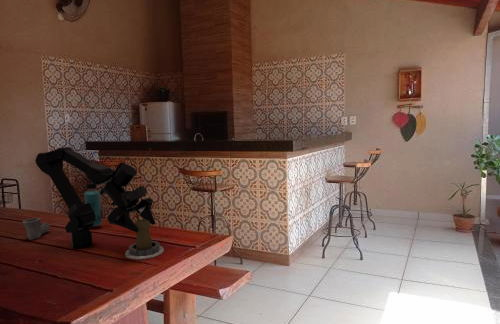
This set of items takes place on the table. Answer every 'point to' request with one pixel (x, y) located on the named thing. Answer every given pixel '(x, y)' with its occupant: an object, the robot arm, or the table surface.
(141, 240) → the cork
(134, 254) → the iron collar
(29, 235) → the pipe
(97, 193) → the beverage bottle
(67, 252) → the table surface
